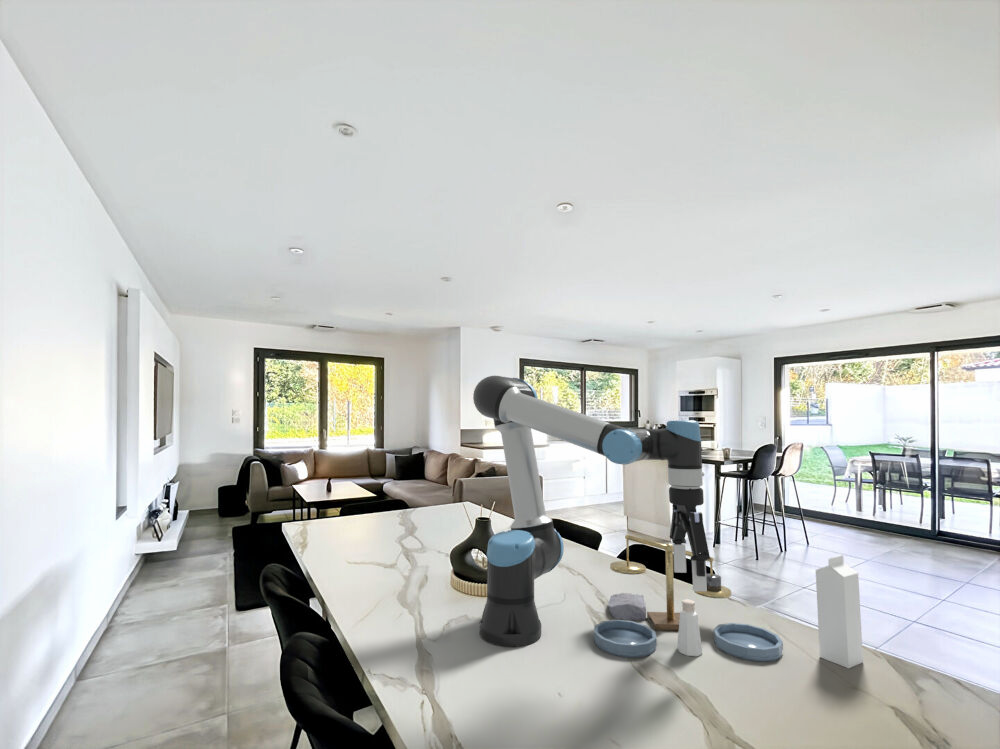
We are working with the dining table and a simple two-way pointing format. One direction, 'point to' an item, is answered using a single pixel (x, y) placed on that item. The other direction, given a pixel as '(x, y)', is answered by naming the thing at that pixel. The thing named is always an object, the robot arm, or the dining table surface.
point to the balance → (669, 584)
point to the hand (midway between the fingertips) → (689, 581)
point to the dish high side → (625, 638)
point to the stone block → (627, 606)
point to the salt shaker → (689, 630)
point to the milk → (839, 613)
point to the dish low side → (748, 642)
